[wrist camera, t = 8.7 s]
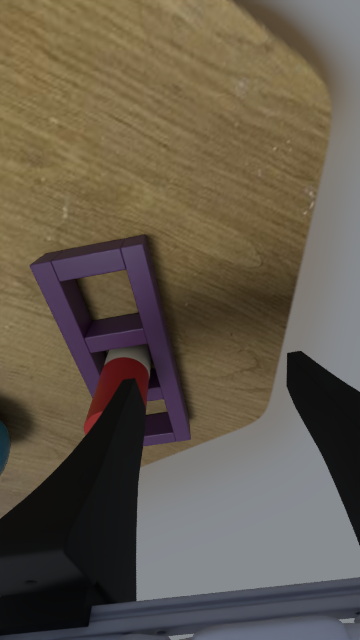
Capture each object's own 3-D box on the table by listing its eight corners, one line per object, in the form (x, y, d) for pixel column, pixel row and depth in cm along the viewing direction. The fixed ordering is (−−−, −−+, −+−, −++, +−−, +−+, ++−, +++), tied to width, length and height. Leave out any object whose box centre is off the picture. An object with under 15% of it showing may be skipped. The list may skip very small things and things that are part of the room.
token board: (145, 234, 18) (142, 243, 16) (189, 418, 28) (190, 439, 26) (44, 253, 19) (28, 265, 17) (121, 428, 28) (117, 450, 26)
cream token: (159, 347, 23) (158, 370, 21) (138, 373, 25) (134, 398, 22) (122, 327, 22) (116, 349, 19) (102, 356, 23) (94, 380, 21)
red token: (158, 370, 21) (155, 425, 16) (134, 398, 22) (125, 456, 18) (115, 349, 19) (100, 402, 15) (93, 380, 21) (73, 437, 17)
